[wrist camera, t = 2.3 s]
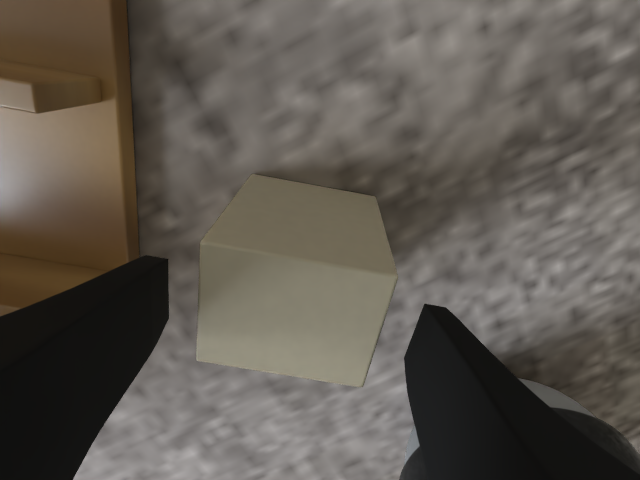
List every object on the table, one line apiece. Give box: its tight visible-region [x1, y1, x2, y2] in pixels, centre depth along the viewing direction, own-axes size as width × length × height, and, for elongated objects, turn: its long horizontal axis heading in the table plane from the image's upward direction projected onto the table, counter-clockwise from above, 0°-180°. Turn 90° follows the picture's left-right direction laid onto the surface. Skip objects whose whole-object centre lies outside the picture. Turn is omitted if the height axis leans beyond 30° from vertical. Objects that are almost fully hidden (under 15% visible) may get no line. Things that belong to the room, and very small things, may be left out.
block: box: [196, 174, 398, 387], centre depth 13 cm, size 4×5×6 cm
